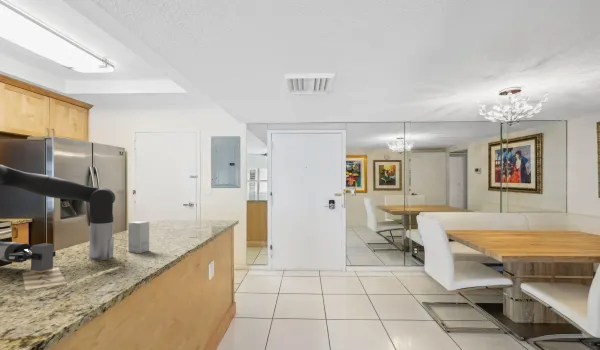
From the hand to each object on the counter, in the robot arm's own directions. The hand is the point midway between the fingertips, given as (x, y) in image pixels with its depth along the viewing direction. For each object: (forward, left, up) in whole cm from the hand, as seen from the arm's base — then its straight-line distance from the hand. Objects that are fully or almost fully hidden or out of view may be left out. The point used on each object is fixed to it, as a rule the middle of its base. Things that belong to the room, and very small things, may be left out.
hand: (48, 255), depth 119 cm
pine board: (-2, +7, -8) cm, 10 cm away
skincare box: (-26, -35, -8) cm, 44 cm away
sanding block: (+2, -1, -6) cm, 7 cm away
